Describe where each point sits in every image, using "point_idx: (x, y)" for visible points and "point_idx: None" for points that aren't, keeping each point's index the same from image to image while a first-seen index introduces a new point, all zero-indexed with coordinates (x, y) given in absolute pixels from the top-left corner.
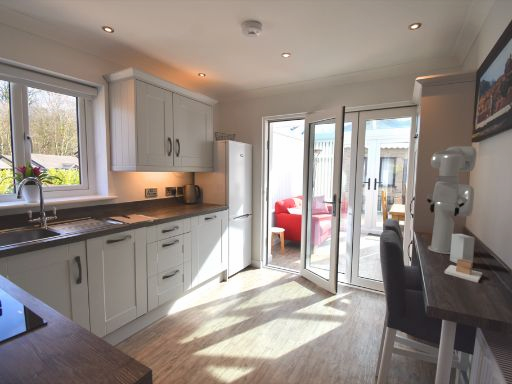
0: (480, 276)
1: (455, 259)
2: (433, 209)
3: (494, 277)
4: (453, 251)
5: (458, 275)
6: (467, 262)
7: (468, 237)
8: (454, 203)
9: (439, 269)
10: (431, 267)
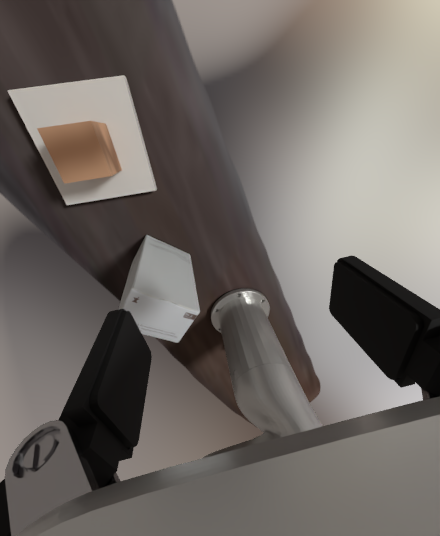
0: (46, 162)
1: (169, 249)
2: (352, 304)
3: (48, 222)
4: (180, 264)
5: (75, 82)
6: (60, 142)
7: (125, 306)
8: (22, 532)
9: (159, 114)
10: (184, 107)
